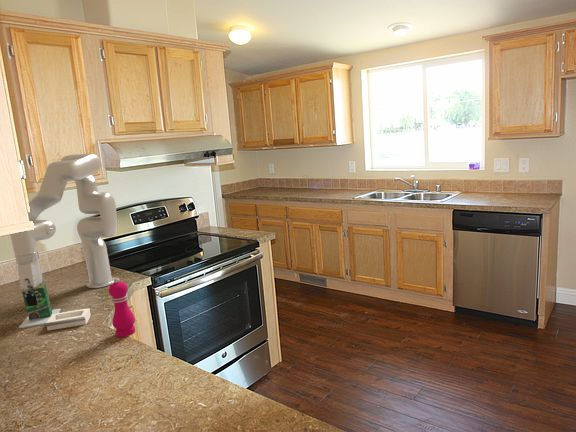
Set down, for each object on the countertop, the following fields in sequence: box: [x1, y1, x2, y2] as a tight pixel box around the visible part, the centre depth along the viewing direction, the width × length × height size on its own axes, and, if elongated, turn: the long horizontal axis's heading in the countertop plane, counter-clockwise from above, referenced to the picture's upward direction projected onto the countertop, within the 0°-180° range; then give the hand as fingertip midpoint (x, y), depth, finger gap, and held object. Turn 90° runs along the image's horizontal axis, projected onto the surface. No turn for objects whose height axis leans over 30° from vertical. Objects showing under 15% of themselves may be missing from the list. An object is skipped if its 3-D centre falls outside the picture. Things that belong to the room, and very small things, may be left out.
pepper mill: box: [108, 277, 136, 338], centre depth 146 cm, size 7×7×20 cm
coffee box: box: [21, 282, 53, 320], centre depth 166 cm, size 8×3×13 cm, turn 102°
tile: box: [18, 308, 61, 330], centre depth 167 cm, size 13×11×1 cm
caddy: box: [44, 308, 92, 332], centre depth 160 cm, size 9×13×3 cm
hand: (36, 300), depth 165 cm, fingers open, 9 cm apart
